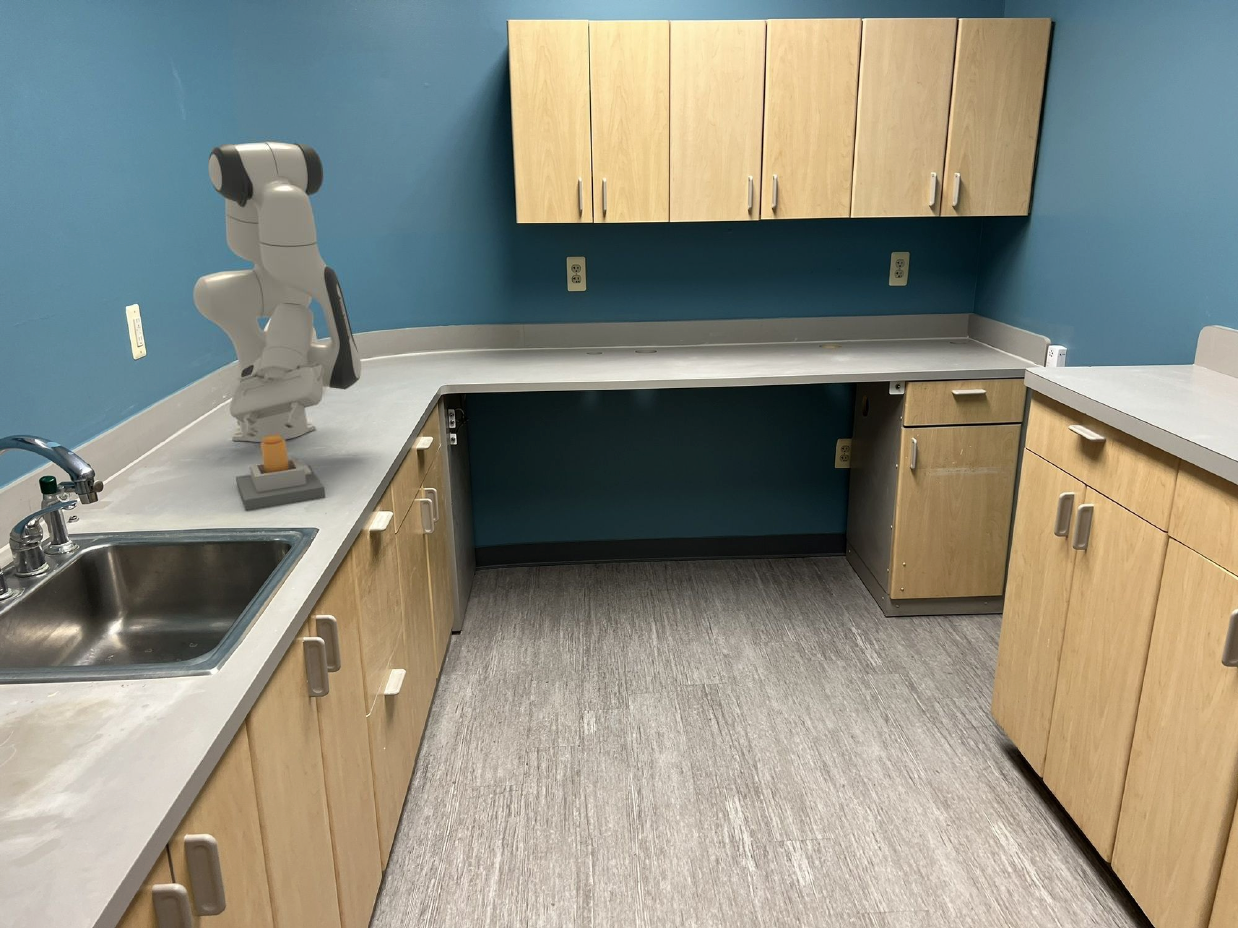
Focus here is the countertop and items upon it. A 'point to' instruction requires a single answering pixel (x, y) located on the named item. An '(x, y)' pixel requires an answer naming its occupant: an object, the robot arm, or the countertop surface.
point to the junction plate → (279, 485)
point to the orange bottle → (274, 454)
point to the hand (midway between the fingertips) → (270, 430)
